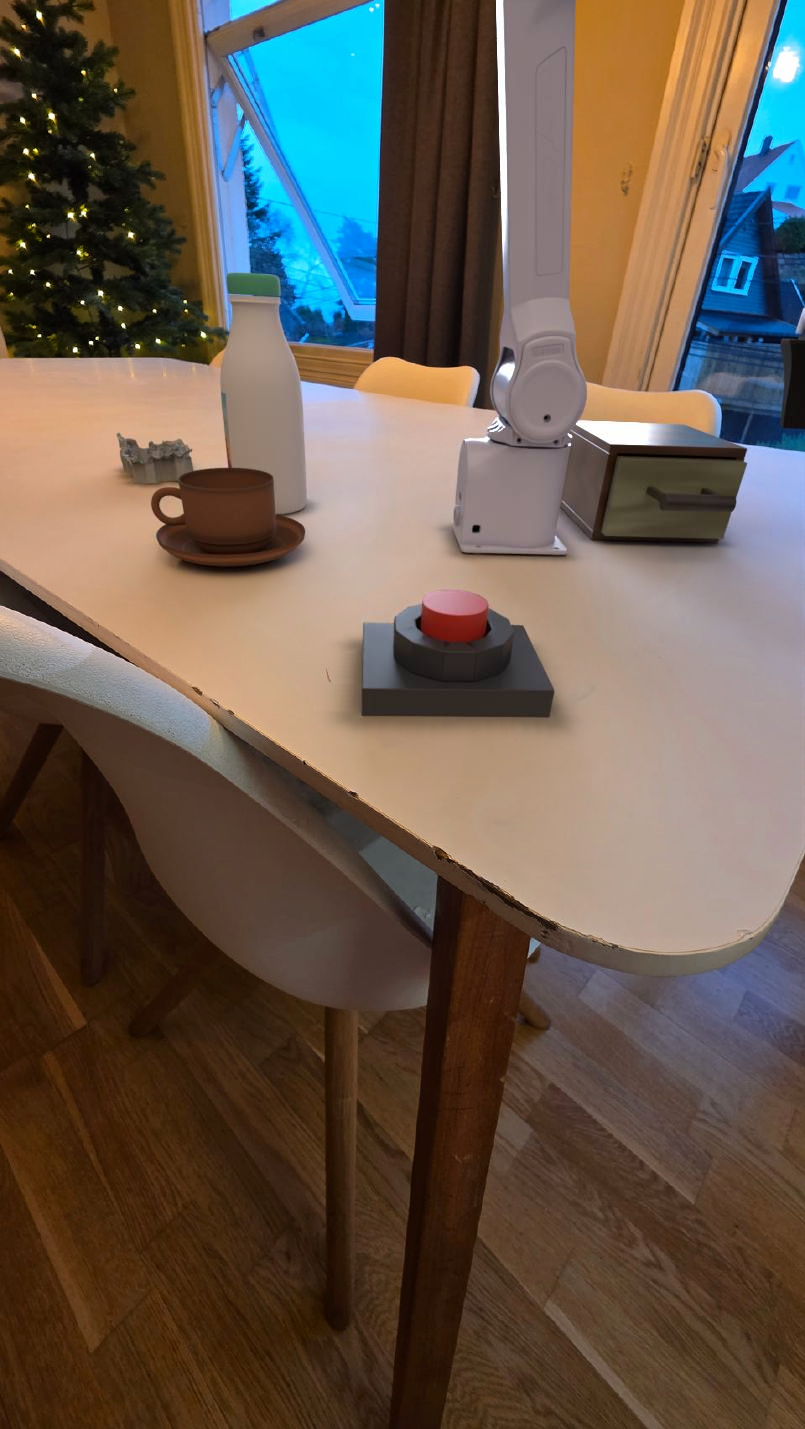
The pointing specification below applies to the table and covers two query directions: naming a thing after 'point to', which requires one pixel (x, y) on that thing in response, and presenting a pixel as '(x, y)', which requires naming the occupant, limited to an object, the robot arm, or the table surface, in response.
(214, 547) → the cup and saucer
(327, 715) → the table surface
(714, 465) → the drawer
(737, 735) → the table surface
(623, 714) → the table surface
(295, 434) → the milk bottle
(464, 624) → the button
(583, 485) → the cabinet
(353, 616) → the table surface
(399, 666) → the control block
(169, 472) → the egg carton
